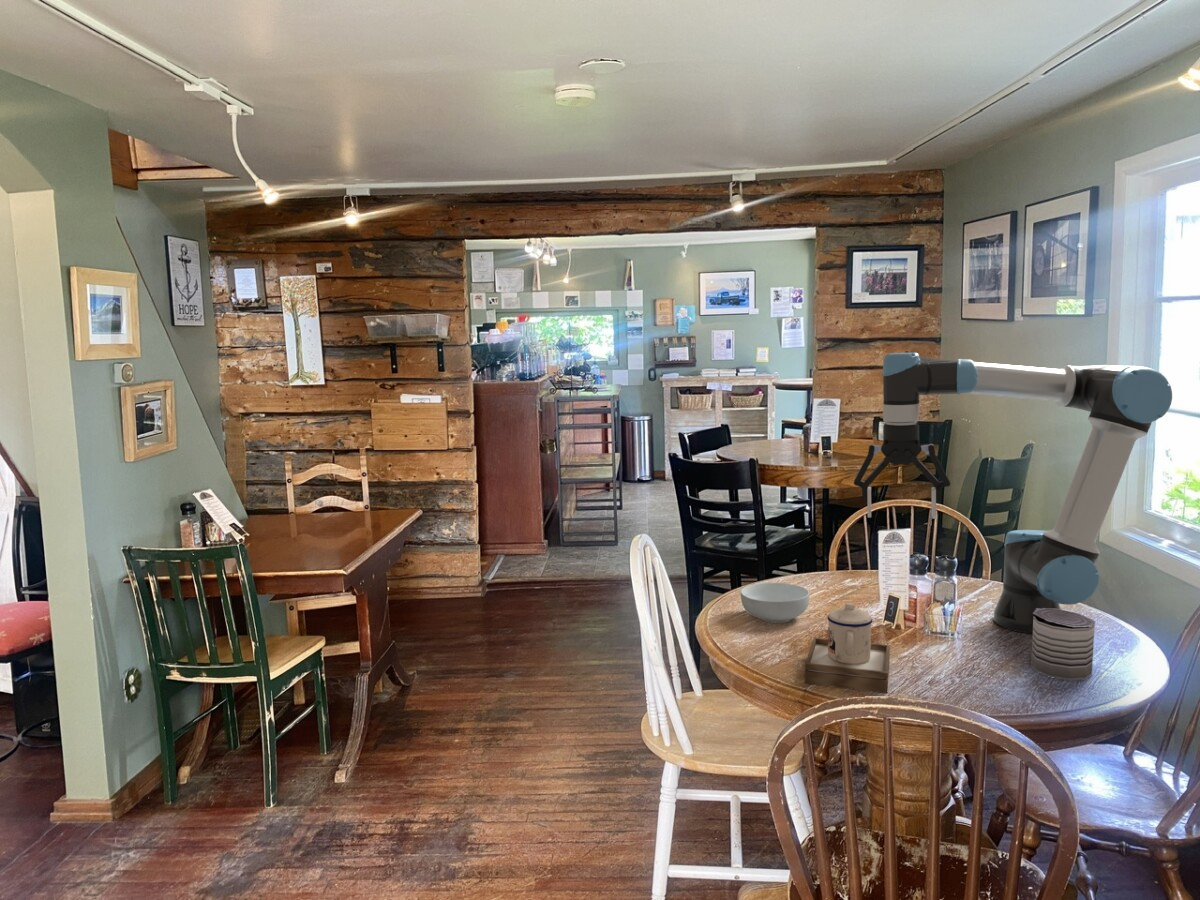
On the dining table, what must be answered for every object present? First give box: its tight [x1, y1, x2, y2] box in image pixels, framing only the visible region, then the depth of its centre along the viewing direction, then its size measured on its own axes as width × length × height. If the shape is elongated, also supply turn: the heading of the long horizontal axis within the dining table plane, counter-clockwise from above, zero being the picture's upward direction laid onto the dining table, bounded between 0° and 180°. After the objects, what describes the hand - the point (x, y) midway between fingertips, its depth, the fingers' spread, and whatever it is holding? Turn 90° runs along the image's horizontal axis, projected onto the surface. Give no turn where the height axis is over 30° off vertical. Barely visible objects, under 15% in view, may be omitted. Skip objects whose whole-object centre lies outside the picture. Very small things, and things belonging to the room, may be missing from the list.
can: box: [1030, 608, 1096, 681], centre depth 179 cm, size 11×11×12 cm
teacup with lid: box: [826, 602, 873, 664], centre depth 179 cm, size 12×9×12 cm
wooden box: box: [804, 637, 891, 694], centre depth 180 cm, size 16×16×4 cm
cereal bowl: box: [740, 581, 810, 624], centre depth 215 cm, size 17×17×7 cm
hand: (901, 517), depth 192 cm, fingers open, 13 cm apart
